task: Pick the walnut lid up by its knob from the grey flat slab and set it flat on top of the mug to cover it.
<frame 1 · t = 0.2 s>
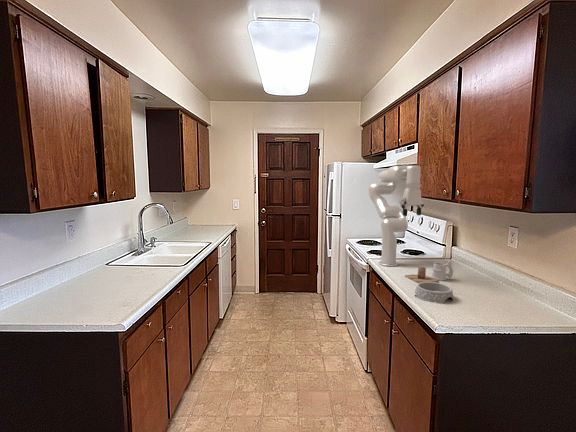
hand: (411, 215, 204), 36 cm above the worktop, tool pointing down, fingers open, 9 cm apart
mug: (442, 280, 196), on the worktop
dog bowl: (433, 297, 170), on the worktop
walnut lid: (421, 279, 195), point 1 cm above the worktop, touching grey flat slab
grey flat slab: (421, 281, 195), on the worktop
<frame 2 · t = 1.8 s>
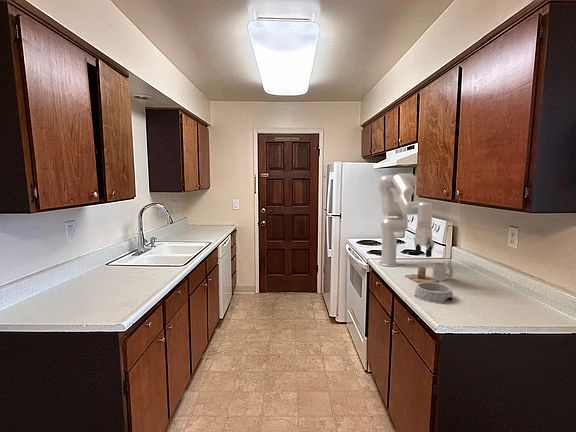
hand: (423, 254, 193), 15 cm above the worktop, tool pointing down, fingers open, 9 cm apart
nothing on the worktop moved.
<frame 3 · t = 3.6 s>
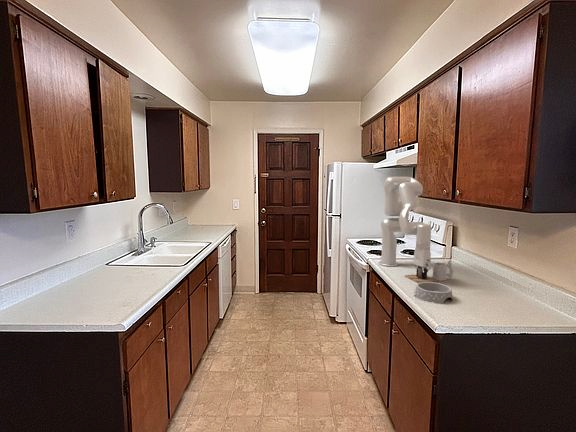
hand: (421, 277, 195), 2 cm above the worktop, tool pointing down, fingers closed on walnut lid, 4 cm apart
walnut lid: (421, 279, 195), point 1 cm above the worktop, touching grey flat slab, gripper
everything else where it was.
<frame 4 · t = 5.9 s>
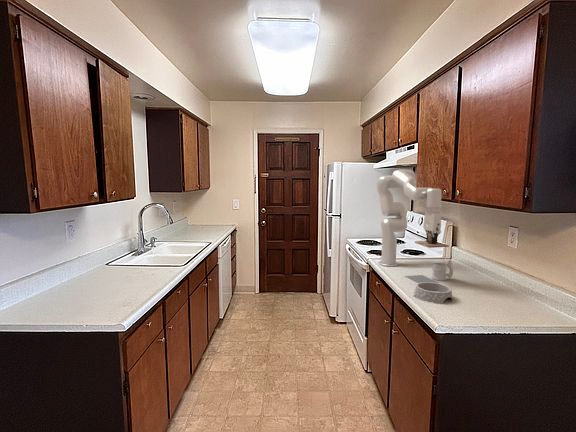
hand: (431, 242, 193), 22 cm above the worktop, tool pointing down, fingers closed on walnut lid, 4 cm apart
walnut lid: (431, 244, 193), point 21 cm above the worktop, touching gripper
everything else where it was.
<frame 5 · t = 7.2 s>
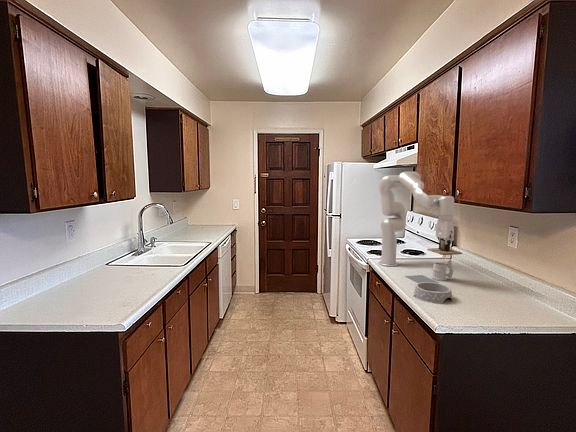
hand: (444, 249, 194), 18 cm above the worktop, tool pointing down, fingers closed on walnut lid, 4 cm apart
walnut lid: (444, 252, 194), point 17 cm above the worktop, touching gripper
everything else where it was.
when the fingers open (15 cm above the worktop, at t = 8.1 s): walnut lid drops 2 cm, resting on mug.
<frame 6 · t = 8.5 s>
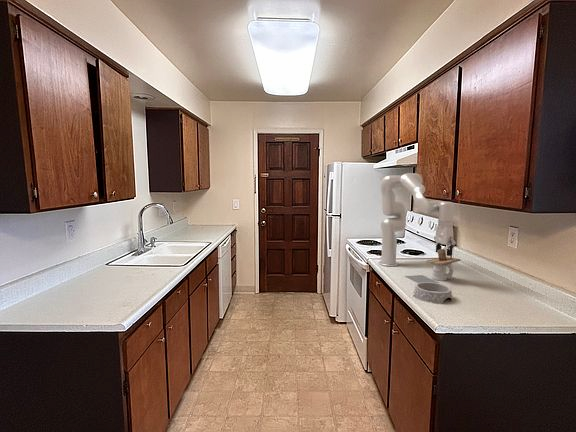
hand: (443, 253, 195), 16 cm above the worktop, tool pointing down, fingers open, 8 cm apart
mug: (442, 280, 196), on the worktop, touching walnut lid
walnut lid: (443, 261, 195), point 11 cm above the worktop, tilted 12°, touching mug
everything else where it was.
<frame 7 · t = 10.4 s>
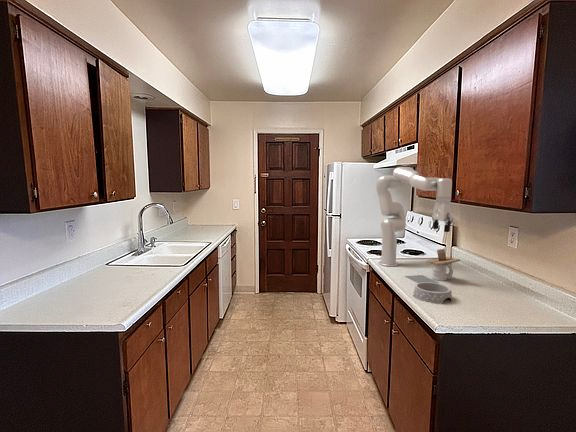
hand: (441, 230, 195), 29 cm above the worktop, tool pointing down, fingers open, 9 cm apart
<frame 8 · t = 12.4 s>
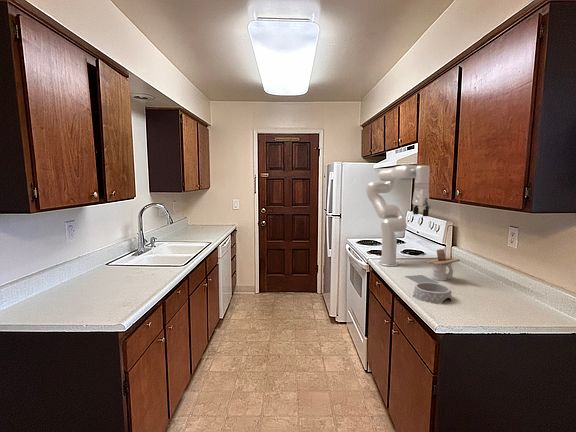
hand: (420, 215, 204), 36 cm above the worktop, tool pointing down, fingers open, 9 cm apart
at the end: walnut lid 0.6 cm off-centre on the mug, point 11.3 cm above the mug's base; walnut lid tilted 12°; the gripper is holding nothing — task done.
